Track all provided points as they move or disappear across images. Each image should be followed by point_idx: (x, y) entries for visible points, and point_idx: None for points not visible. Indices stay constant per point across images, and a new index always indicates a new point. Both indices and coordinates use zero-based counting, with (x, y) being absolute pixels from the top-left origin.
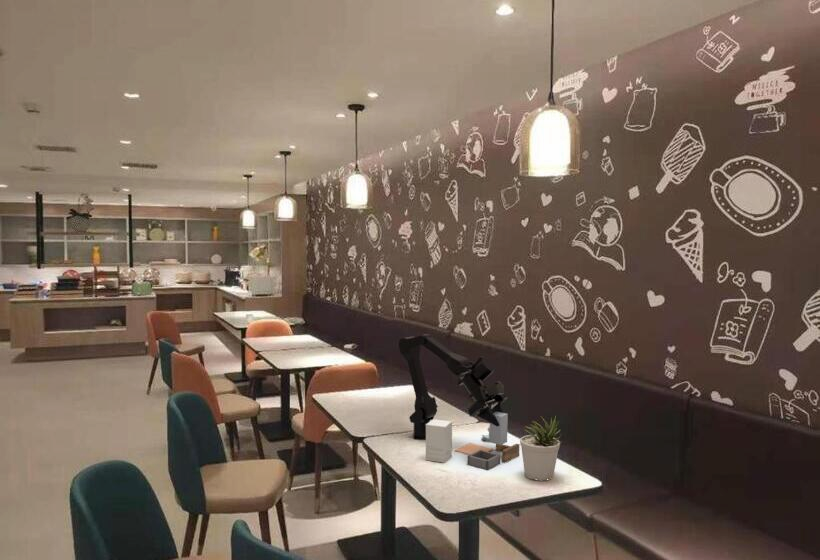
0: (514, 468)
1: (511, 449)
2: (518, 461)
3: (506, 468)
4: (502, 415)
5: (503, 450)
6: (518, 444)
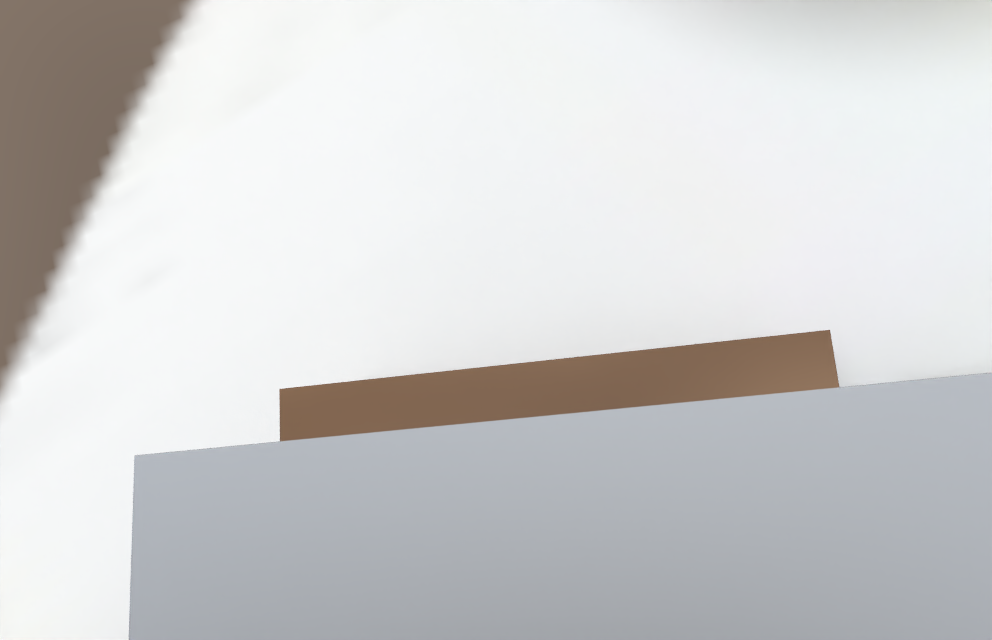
0: (879, 141)
1: (583, 361)
2: (582, 274)
3: (984, 216)
4: (681, 484)
5: (813, 388)
6: (304, 393)
